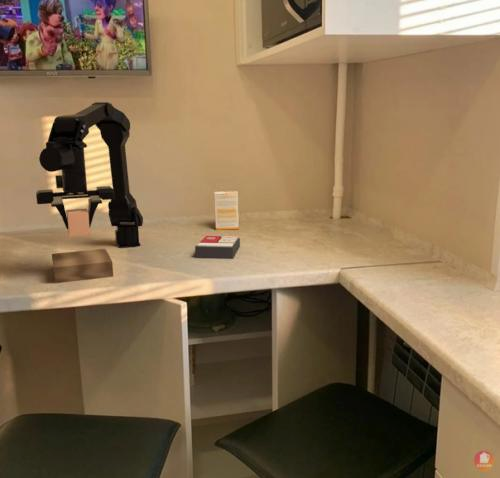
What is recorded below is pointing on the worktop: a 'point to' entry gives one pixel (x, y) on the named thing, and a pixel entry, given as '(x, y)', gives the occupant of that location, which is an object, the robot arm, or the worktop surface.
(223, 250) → the red white black box
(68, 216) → the terracotta block
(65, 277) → the walnut base
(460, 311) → the worktop surface
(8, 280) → the worktop surface
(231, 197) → the supplement box
